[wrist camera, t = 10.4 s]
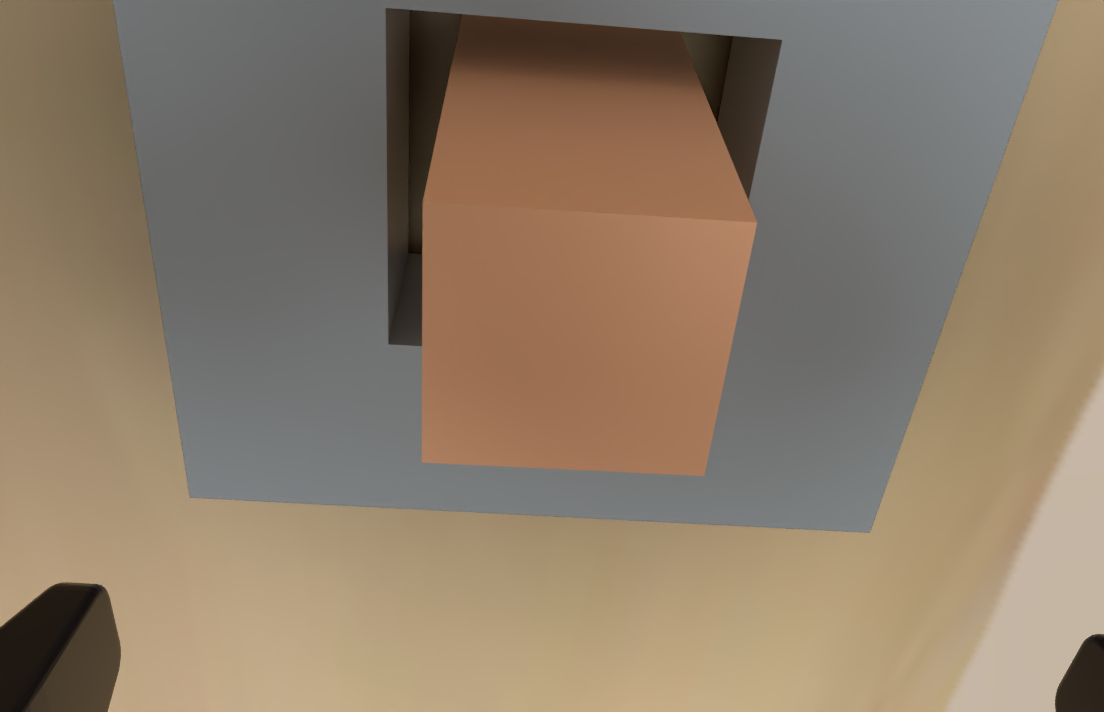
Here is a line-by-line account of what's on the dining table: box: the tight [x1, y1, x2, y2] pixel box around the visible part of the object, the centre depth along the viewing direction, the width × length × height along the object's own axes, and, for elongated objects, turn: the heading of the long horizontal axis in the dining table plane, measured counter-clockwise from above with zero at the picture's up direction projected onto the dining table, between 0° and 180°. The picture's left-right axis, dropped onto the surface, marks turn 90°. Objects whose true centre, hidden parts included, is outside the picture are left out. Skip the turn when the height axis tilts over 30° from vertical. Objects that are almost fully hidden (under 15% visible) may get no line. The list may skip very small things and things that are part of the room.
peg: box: [422, 14, 757, 476], centre depth 16 cm, size 4×4×8 cm
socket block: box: [113, 0, 1058, 533], centre depth 18 cm, size 14×14×4 cm
